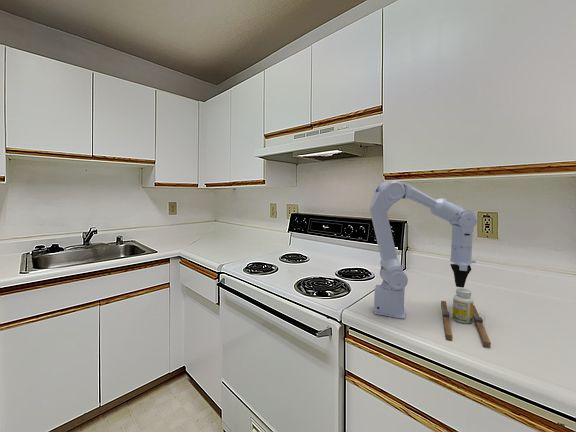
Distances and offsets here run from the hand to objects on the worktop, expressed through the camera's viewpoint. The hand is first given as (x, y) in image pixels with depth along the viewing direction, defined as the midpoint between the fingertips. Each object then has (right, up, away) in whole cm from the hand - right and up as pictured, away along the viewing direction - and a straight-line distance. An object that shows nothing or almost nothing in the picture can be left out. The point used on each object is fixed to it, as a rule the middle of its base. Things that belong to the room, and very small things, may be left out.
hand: (459, 286), depth 91 cm
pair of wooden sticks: (-3, -10, -6) cm, 12 cm away
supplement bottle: (-2, -10, -5) cm, 11 cm away
